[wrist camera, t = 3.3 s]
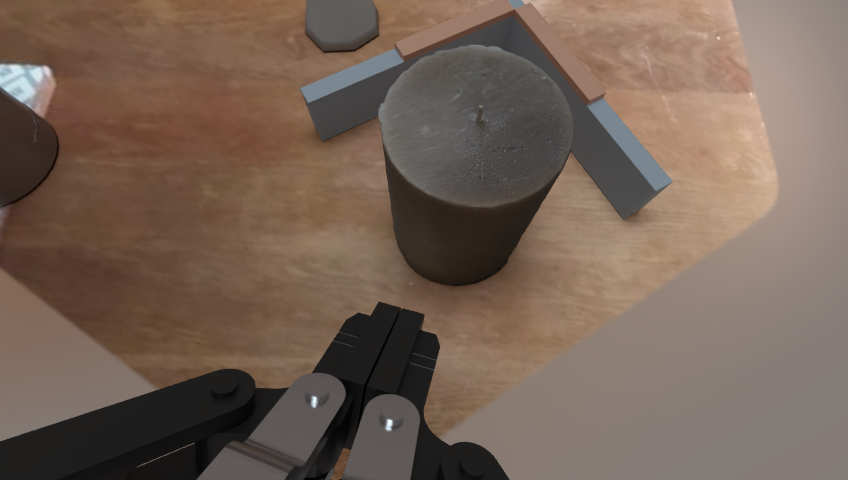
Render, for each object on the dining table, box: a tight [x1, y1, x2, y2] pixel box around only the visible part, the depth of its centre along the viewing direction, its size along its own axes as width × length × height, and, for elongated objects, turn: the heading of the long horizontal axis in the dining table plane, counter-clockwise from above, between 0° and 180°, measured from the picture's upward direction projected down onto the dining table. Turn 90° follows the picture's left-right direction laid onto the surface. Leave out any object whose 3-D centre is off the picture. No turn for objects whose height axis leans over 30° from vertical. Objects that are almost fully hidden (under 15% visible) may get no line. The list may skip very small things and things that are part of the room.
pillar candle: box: [378, 45, 574, 286], centre depth 27 cm, size 10×10×15 cm
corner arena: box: [300, 0, 673, 219], centre depth 33 cm, size 20×20×6 cm
